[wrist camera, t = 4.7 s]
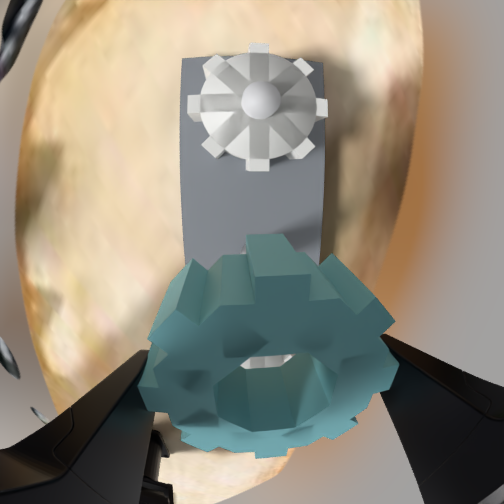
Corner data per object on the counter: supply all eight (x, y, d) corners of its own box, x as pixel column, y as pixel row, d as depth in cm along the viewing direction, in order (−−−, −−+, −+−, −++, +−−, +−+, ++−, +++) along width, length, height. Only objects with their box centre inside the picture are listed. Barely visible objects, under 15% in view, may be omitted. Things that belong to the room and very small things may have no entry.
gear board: (299, 377, 24) (313, 421, 19) (203, 383, 23) (200, 428, 18) (316, 69, 16) (346, 41, 10) (185, 66, 15) (170, 32, 10)
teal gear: (341, 389, 11) (364, 439, 8) (178, 401, 10) (170, 458, 7) (373, 232, 8) (428, 265, 6) (144, 238, 8) (105, 280, 5)
